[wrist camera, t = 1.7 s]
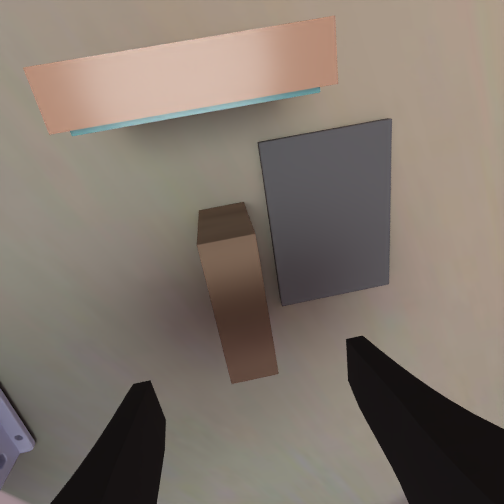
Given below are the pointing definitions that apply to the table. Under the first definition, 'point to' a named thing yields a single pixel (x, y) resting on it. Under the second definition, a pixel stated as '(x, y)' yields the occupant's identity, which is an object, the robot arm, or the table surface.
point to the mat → (329, 209)
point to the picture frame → (185, 77)
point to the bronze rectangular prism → (237, 291)
